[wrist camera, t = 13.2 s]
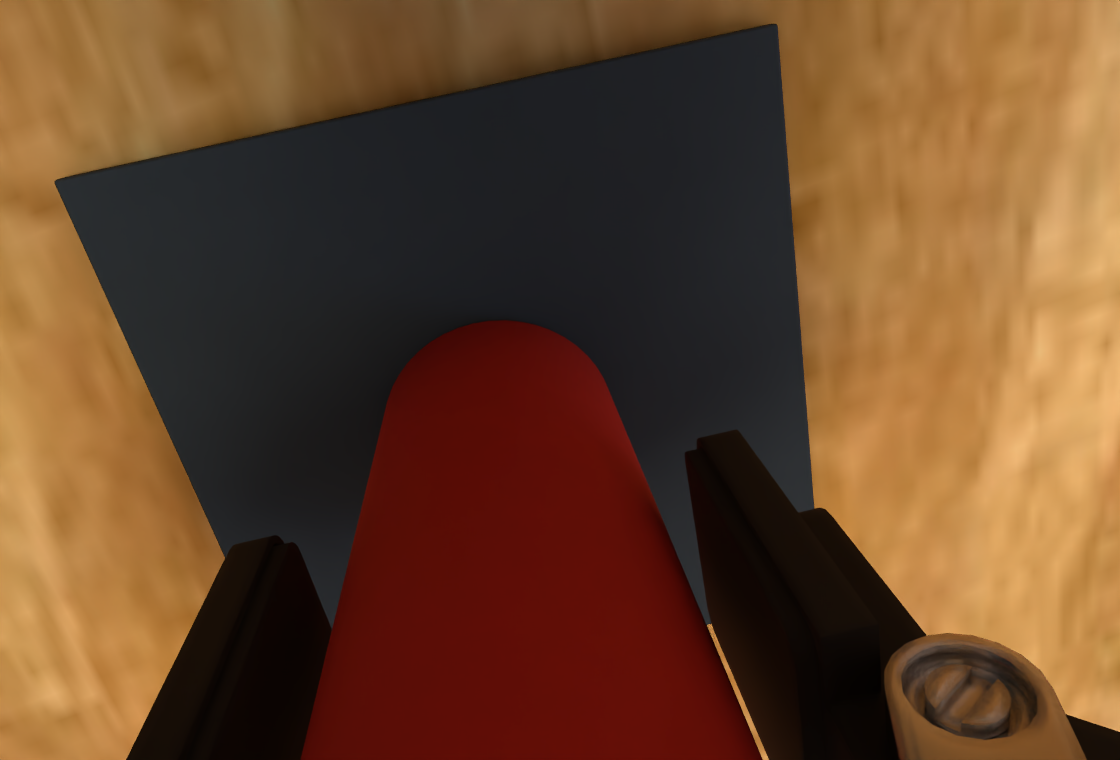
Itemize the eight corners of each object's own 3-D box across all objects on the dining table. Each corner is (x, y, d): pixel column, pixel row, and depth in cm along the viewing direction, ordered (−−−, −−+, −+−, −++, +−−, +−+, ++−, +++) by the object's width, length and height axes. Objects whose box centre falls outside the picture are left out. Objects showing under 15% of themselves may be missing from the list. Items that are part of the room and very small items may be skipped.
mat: (64, 176, 13) (51, 180, 12) (769, 24, 13) (778, 23, 13) (301, 707, 17) (298, 720, 17) (814, 587, 18) (822, 598, 17)
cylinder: (354, 348, 14) (132, 905, 5) (591, 295, 14) (821, 742, 5) (419, 545, 16) (347, 1232, 7) (629, 497, 16) (851, 1106, 7)
